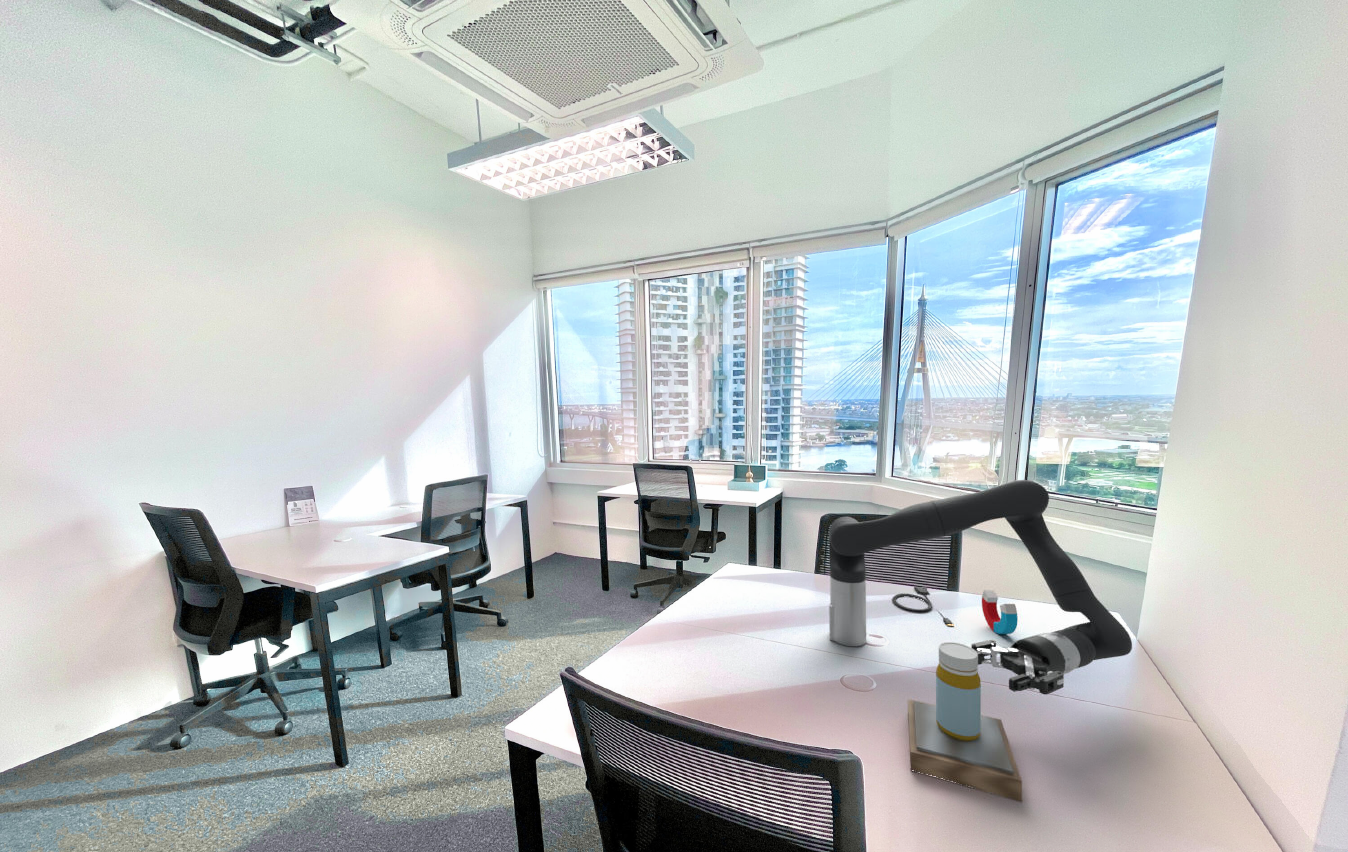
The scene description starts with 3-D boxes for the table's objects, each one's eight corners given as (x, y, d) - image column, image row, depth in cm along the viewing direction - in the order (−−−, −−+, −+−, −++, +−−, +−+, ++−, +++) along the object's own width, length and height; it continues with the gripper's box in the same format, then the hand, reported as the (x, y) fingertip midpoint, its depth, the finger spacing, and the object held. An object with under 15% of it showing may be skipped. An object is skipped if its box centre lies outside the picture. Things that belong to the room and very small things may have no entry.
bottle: (928, 718, 89) (927, 642, 89) (962, 715, 90) (962, 639, 89) (953, 744, 82) (953, 661, 82) (989, 741, 83) (990, 659, 82)
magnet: (1017, 642, 124) (1018, 605, 124) (1007, 642, 125) (1007, 605, 124) (991, 621, 136) (991, 588, 136) (981, 621, 136) (981, 588, 136)
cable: (903, 624, 137) (903, 619, 137) (884, 588, 164) (884, 583, 164) (954, 628, 134) (954, 623, 134) (926, 590, 161) (926, 586, 161)
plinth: (910, 770, 82) (910, 748, 82) (908, 715, 96) (907, 696, 96) (1021, 801, 75) (1021, 777, 75) (1001, 737, 89) (1001, 716, 89)
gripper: (1009, 621, 100) (953, 636, 94) (1087, 654, 86) (1027, 673, 81) (1009, 656, 100) (953, 672, 95) (1087, 693, 87) (1027, 715, 81)
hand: (988, 672), depth 88 cm, fingers open, 8 cm apart
